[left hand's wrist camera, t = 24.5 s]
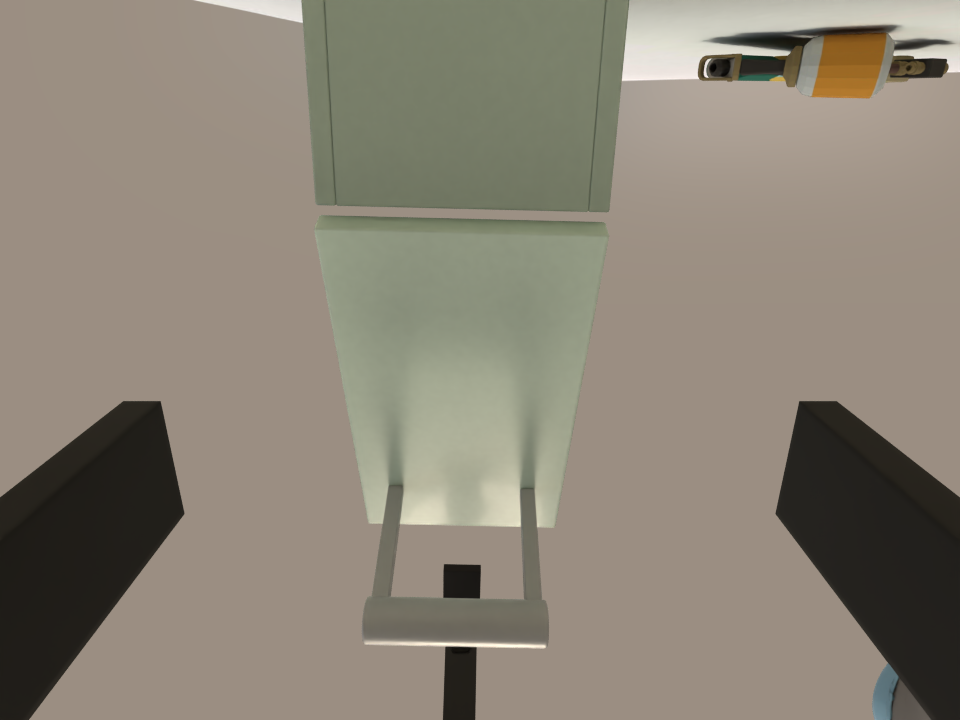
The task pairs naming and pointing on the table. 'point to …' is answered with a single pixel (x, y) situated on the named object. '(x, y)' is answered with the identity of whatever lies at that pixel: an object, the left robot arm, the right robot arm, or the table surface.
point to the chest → (464, 102)
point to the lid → (460, 393)
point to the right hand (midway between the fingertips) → (459, 639)
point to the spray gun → (828, 66)
